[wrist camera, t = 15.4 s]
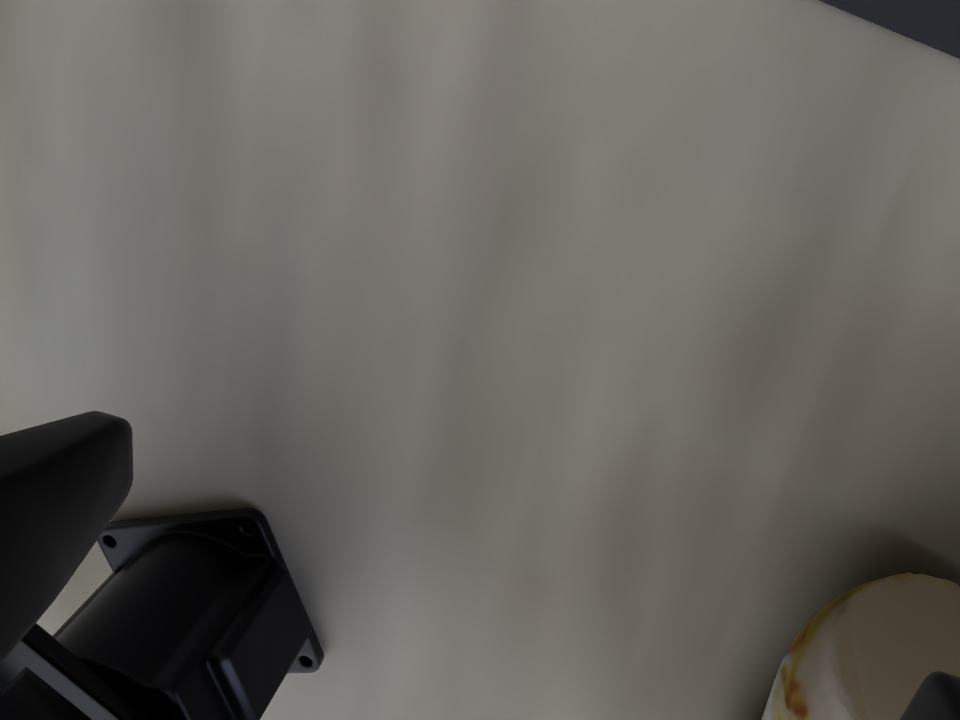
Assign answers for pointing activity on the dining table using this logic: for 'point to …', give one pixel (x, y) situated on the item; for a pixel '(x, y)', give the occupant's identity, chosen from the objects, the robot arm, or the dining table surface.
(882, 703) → the mug
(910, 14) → the bay mat
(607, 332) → the dining table surface
